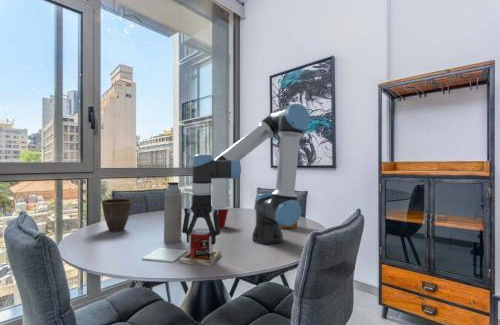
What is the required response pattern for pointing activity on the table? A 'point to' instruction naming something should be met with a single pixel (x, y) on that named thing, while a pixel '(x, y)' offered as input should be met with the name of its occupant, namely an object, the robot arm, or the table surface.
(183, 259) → the square wooden frame
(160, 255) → the sage pad
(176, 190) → the thermos bottle
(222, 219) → the plastic cup
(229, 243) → the table surface
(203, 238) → the canned food
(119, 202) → the plant pot
